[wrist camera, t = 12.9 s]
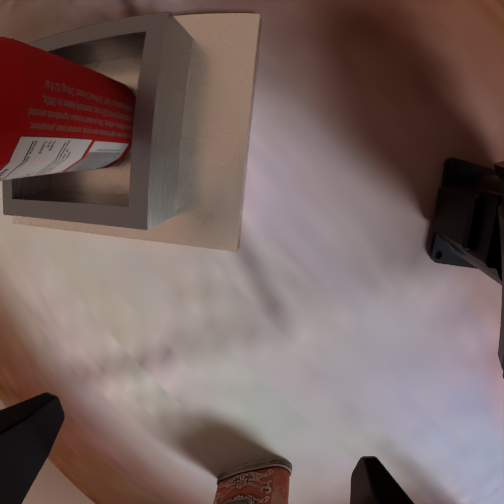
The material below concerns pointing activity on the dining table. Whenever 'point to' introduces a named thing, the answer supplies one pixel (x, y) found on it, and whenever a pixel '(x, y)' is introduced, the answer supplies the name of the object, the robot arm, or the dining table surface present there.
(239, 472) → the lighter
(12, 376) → the dining table surface
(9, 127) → the soda can
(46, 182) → the cup bracket
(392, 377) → the dining table surface
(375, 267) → the dining table surface
